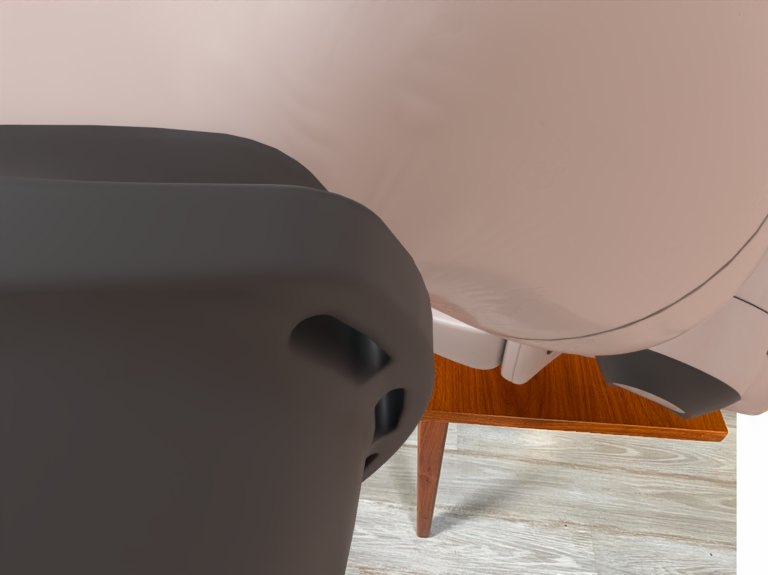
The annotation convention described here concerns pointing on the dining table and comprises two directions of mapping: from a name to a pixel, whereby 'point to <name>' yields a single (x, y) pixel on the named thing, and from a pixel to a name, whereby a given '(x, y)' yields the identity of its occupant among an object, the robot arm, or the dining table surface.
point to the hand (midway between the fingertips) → (417, 233)
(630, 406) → the dining table surface
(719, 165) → the robot arm
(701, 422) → the dining table surface
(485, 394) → the dining table surface
